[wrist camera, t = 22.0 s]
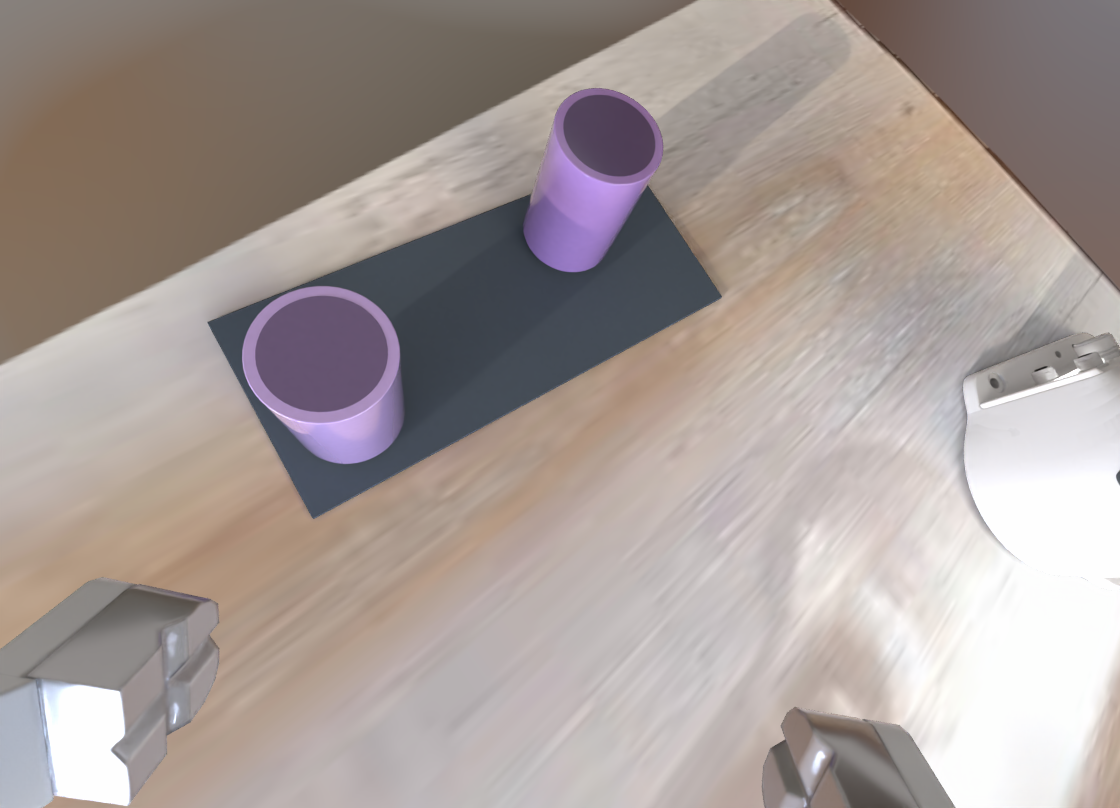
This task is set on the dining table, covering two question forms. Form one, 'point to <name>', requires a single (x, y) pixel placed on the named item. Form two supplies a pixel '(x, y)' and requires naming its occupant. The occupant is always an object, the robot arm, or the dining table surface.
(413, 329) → the placemat
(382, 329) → the lilac tumbler
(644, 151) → the heather tumbler
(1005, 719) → the dining table surface
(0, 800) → the robot arm
